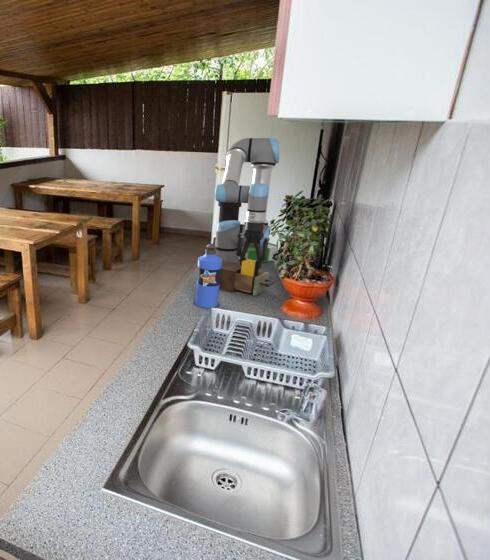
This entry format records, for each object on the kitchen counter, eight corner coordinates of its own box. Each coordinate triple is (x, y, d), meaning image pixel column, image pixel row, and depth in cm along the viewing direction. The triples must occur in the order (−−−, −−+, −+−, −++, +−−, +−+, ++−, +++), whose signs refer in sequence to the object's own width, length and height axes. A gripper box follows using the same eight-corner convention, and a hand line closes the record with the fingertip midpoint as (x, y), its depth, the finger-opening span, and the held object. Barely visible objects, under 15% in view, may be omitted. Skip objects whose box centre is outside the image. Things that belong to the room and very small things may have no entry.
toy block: (246, 271, 190) (247, 258, 188) (257, 274, 187) (259, 261, 185) (240, 274, 186) (241, 261, 184) (252, 277, 183) (253, 263, 181)
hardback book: (226, 243, 238) (257, 239, 249) (225, 255, 240) (256, 251, 251) (249, 251, 223) (281, 246, 234) (247, 264, 226) (279, 259, 237)
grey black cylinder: (226, 240, 278) (230, 194, 269) (245, 246, 265) (250, 197, 255) (207, 243, 271) (210, 196, 261) (225, 249, 257) (230, 199, 247)
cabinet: (245, 285, 196) (247, 265, 192) (232, 292, 187) (234, 271, 183) (217, 278, 205) (218, 259, 201) (203, 284, 196) (205, 264, 192)
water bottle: (195, 298, 179) (199, 240, 171) (218, 300, 177) (223, 242, 169) (194, 306, 170) (198, 246, 162) (217, 309, 168) (223, 247, 160)
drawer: (275, 291, 186) (278, 274, 183) (265, 298, 178) (267, 280, 175) (238, 282, 197) (240, 266, 194) (226, 288, 189) (228, 271, 186)
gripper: (230, 219, 182) (226, 271, 189) (273, 225, 170) (266, 280, 178) (239, 217, 187) (233, 267, 195) (280, 223, 176) (273, 276, 183)
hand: (249, 273), depth 186 cm, fingers closed on toy block, 5 cm apart
